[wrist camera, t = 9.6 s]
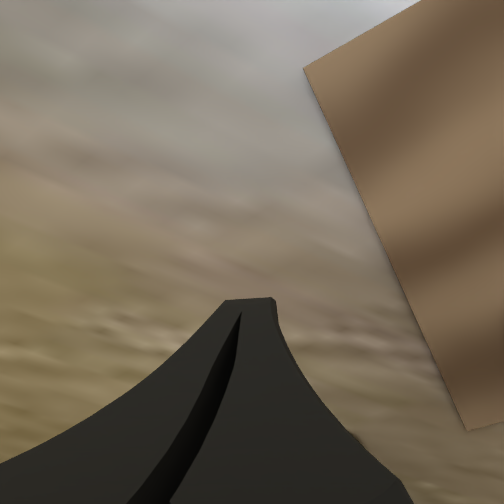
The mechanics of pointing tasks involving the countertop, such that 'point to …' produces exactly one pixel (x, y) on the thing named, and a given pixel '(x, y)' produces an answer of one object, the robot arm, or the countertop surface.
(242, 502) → the robot arm
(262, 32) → the countertop surface
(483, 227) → the walnut board
